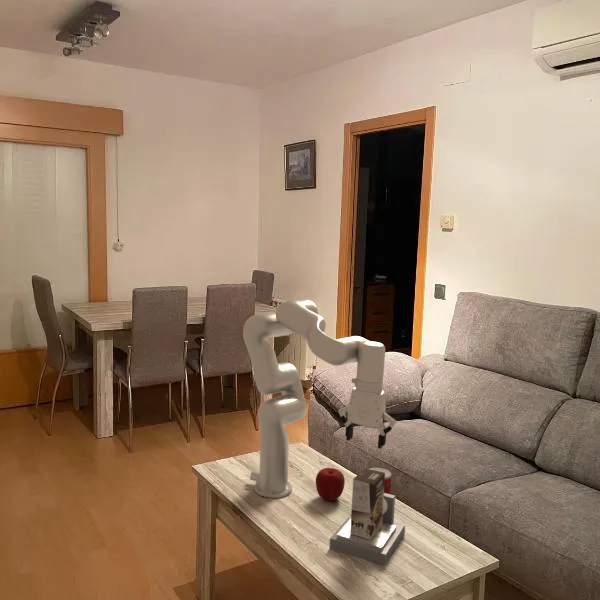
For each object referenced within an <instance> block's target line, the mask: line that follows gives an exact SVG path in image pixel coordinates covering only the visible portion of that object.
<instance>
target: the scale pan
mask: <svg viewBox="0 0 600 600" xmlns="http://www.w3.org/2000/svg"><path fill="white" fill-rule="evenodd" d="M350 529H351V519H350V520H349V521H348V522H347V523H346V524H345V526H344V527H343V528H342V529H341V530H340V531H339V533H338V534H337V538H338V539H341V540H345V541H348V542H352V543H355V544H358V545H362V546H365V547H369V548H372V549H375V550H379V551H382V550H383V548H384V547H385V545H386V544H387V542H388V541H389V539H390V538H391V536H392V535H393V533H394V532H395V530H396V526H395V525H391V524H387V523H383V522H382V527H381V528H380V529H379V530H378V531H377V533H376V534H375V535H374V536H373V537H372V539H371V540H369V539H366V538H363V537H360V536H356V535H353V534H351V533H350Z"/></svg>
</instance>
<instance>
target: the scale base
mask: <svg viewBox="0 0 600 600" xmlns="http://www.w3.org/2000/svg"><path fill="white" fill-rule="evenodd" d="M395 505H396V495H394V494H391V493H390V494H387V493H384V499H383V519H382V522H383V523H387V524H391V525H395V526H396V530H395V532H394V533H393V535H392V536H391V538H390V539H389V541H388V542H387V544H386V545H385V547H384V548H383V550H382V551H379V550H375V549H372V548H369V547H365V546H362V545H358V544H355V543H352V542H348V541H345V540H341V539H338V538H337V534H338V533H339V531H340V530H341V529H342V528H343V527H344V526H345V524H346V523H347V522H348V521H349V520H350V519H351V514H350V515H349V516H348V517H347V518H346V519H345V521H344V522H343V523H342V524H341V525H340V526H339V528H338V529H336V531H335V532H334V533H333V534H332V535H331V537H330V538H329V549H331V550H334V551H337V552H340V553H344V554H347V555H350V556H353V557H357V558H359V559H363V560H366V561H370V562H372V563H377V564H379V565H382V566H386V564H387V563H388V561H389V560H390V558H391V557H392V555H393V554H394V551H396V548H397V547H398V546H399V544H400V542H401V540H402V539H403V537H404V536H405V534H406V524H404V523H401V522H398V521H395Z"/></svg>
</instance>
